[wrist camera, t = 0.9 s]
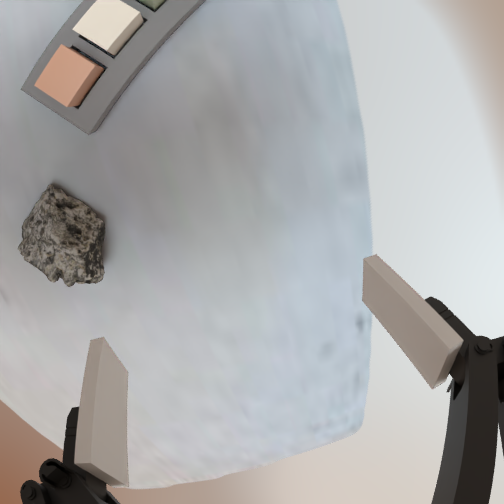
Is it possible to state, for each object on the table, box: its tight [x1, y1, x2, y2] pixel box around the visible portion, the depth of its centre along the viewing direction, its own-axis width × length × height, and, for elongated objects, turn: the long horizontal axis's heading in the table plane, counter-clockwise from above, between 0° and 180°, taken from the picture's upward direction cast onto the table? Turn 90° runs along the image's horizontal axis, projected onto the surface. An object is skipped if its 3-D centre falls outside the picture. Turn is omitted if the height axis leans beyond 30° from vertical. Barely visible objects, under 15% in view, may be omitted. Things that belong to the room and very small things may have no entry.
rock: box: [18, 185, 105, 287], centre depth 31 cm, size 13×10×10 cm
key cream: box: [72, 0, 144, 56], centre depth 20 cm, size 4×4×4 cm
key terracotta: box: [34, 44, 105, 107], centre depth 21 cm, size 4×4×4 cm
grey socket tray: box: [21, 0, 206, 135], centre depth 22 cm, size 10×26×3 cm, turn 138°
